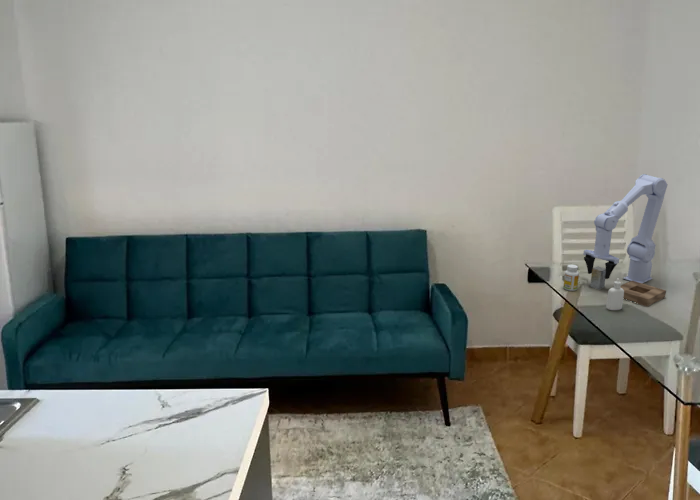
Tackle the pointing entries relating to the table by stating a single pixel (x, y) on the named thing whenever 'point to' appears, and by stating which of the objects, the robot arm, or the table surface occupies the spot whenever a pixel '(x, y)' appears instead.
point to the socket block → (642, 293)
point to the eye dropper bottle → (615, 296)
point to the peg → (598, 277)
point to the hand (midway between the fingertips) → (598, 275)
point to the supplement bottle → (571, 278)
